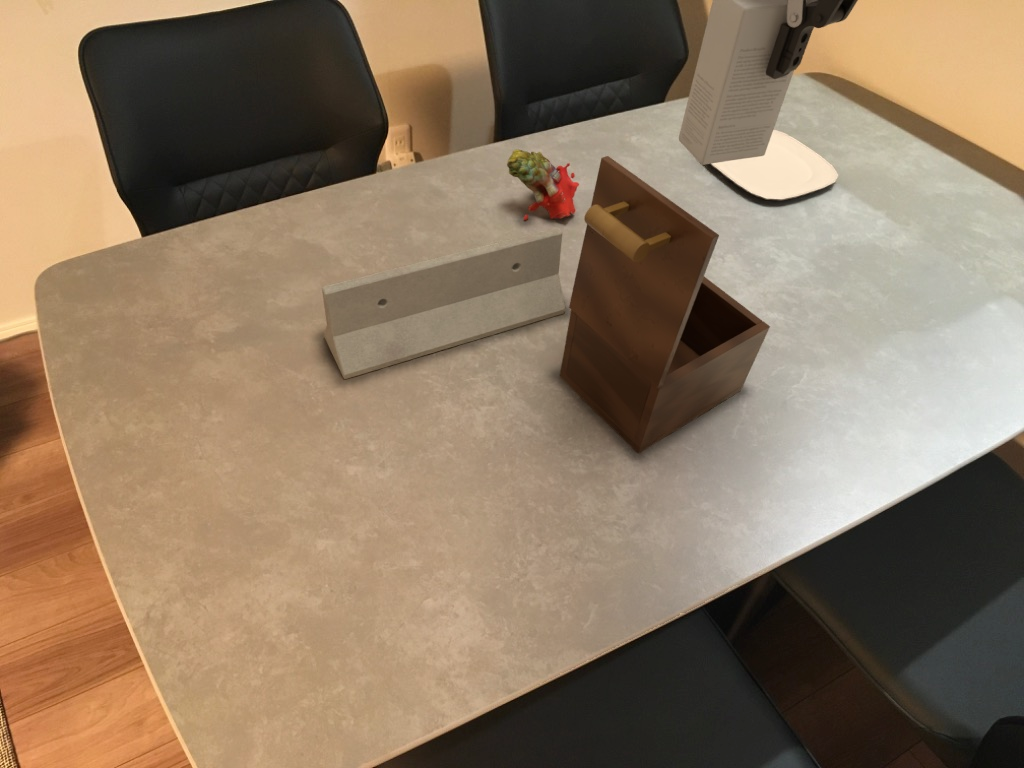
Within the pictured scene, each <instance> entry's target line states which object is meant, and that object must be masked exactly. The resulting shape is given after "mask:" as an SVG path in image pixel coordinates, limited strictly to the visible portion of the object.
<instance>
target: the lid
mask: <svg viewBox="0 0 1024 768" xmlns="http://www.w3.org/2000/svg"><path fill="white" fill-rule="evenodd" d="M583 217H584V219H583V220H584V223H585V224H586V227H585V231H584V235H583V236H584V237H583V241H582V245H581V250H580V254H579V259H578V264H577V267H576V273H575V277H574V282H573V287H572V292H571V297H570V300H569V306H568V309H569V310H570V311H571V310H572V311H573V312H574V313H575V314H576V315H578V316H579V317H580V318H581V319H582V320H583V321H584V322H585V323H586V324H587V325H589V326H590V327H591V328H592V329H593V330H594V331H595V332H596V333H597V334H598V335H600V336H601V337H602V338H603V339H604V340H605V341H606V342H607V343H608V344H609V345H611V346H612V347H613V348H614V349H615V350H616V351H617V352H618V353H619V354H620V355H622V356H623V357H624V358H625V359H626V360H627V361H628V362H629V363H630V364H632V365H633V366H634V367H635V368H636V369H637V370H638V371H639V372H640V373H641V374H643V375H644V376H645V377H646V378H647V379H648V380H649V381H650V382H651V383H652V384H654V385H655V386H656V387H657V388H658V387H660V386H662V385H663V383H664V381H665V378H666V375H667V373H668V370H669V368H670V365H671V362H672V360H673V357H674V354H675V352H676V349H677V346H678V344H679V341H680V338H681V336H682V333H683V330H684V328H685V325H686V322H687V320H688V317H689V314H690V312H691V309H692V306H693V304H694V301H695V299H696V296H697V293H698V291H699V288H700V285H701V283H702V280H703V277H705V275H706V272H707V270H708V267H709V264H710V262H711V258H712V256H713V254H714V251H715V248H716V245H717V243H718V240H719V237H720V235H719V234H718V233H717V232H715V231H714V230H713V229H712V228H710V227H709V226H707V225H706V224H704V223H703V222H701V221H700V220H698V219H697V218H696V217H694V216H693V215H692V214H690V213H689V212H688V211H686V210H684V209H683V208H682V207H680V206H679V205H678V204H676V203H675V202H674V201H672V200H671V199H670V198H668V197H667V196H665V195H664V194H662V193H661V192H659V191H658V190H657V189H656V188H654V187H652V186H651V185H650V184H649V183H647V182H646V181H644V180H643V179H641V178H640V177H638V176H637V175H636V174H634V173H633V172H631V171H630V170H629V169H627V168H626V167H624V166H623V165H622V164H620V163H619V162H617V161H616V160H614V159H613V158H612V157H610V156H609V155H607V156H606V155H605V156H603V157H601V159H600V163H599V168H598V171H597V177H596V181H595V185H594V190H593V195H592V199H591V204H590V207H589V208H588V209H587V211H586V212H585V214H584V216H583Z"/></svg>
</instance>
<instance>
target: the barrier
mask: <svg viewBox="0 0 1024 768" xmlns="http://www.w3.org/2000/svg"><path fill="white" fill-rule="evenodd" d="M562 243H563V232H562V230H561V229H560V228H559V227H552V228H549V229H544V230H541V231H536V232H532V233H529V234H525V235H521V236H517V237H513V238H510V239H506V240H505V239H504V240H501V241H498V242H497V241H496V242H494V243H491V244H485V245H482V246H478V247H474V248H470V249H466V250H461V251H457V252H453V253H451V254H445V255H442V256H437V257H434V258H430V259H426V260H422V261H419V262H414V263H411V264H407V265H403V266H399V267H394V268H391V269H386V270H383V271H379V272H376V273H371V274H367V275H363V276H360V277H356V278H352V279H347V280H344V281H340V282H335V283H332V284H328V285H324V286H322V287H321V292H322V301H323V306H324V307H323V308H324V315H325V322H326V326H325V329H324V332H323V336H324V339H325V342H326V343H327V345H328V348H329V350H330V352H331V354H332V356H333V358H334V361H335V363H336V365H337V367H338V369H339V371H340V374H341V376H342V379H344V380H348V379H350V378H354V377H358V376H361V375H364V374H367V373H370V372H374V371H377V370H381V369H384V368H388V367H390V366H394V365H397V364H401V363H404V362H407V361H410V360H414V359H418V358H420V357H423V356H427V355H430V354H433V353H437V352H440V351H443V350H446V349H450V348H454V347H456V346H460V345H464V344H467V343H471V342H473V341H476V340H480V339H483V338H486V337H490V336H493V335H497V334H499V333H504V332H506V331H511V330H513V329H516V328H520V327H523V326H526V325H530V324H534V323H536V322H539V321H542V320H546V319H550V318H552V317H556V316H559V315H563V314H565V311H566V305H565V300H564V295H563V289H562V284H561V277H560V274H559V273H560V265H561V264H560V262H561V253H562Z"/></svg>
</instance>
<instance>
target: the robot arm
mask: <svg viewBox="0 0 1024 768" xmlns="http://www.w3.org/2000/svg"><path fill="white" fill-rule="evenodd" d="M858 1H859V0H787V17H786V20H787V22H786V23H783V24H781V27H780V30H779V33H778V36H777V39H776V42H775V45H774V48H773V51H772V54H771V57H770V60H769V63H768V66H767V69H766V75H767V76H769V77H771V78H773V79H777V78H780V77H783V76H786V75H788V74H789V73H790V72H791V71H793V70H794V71H796V70H797V69H798V68H799V66H800V65H801V63H802V61H803V57H804V55H805V52H806V49H807V47H808V44H809V42H810V38H811V36H812V33H813V31H814V28H815V29H822V28H824V27H827V26H828V25H832V24H836V23H840V22H843V21H845V20H846V19H847V18H848V17H849V15H850V13H851V12H852V11H853V9H854V7H855V6H856V4H857V3H858Z"/></svg>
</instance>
